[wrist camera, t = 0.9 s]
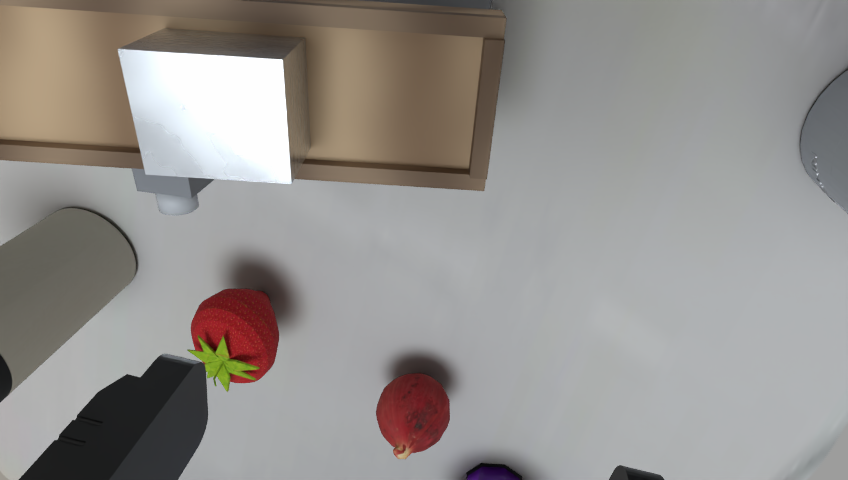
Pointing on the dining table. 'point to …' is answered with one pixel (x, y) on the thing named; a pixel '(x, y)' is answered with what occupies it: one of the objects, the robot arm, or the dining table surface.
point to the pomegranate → (413, 413)
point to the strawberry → (235, 335)
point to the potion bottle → (492, 472)
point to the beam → (326, 73)
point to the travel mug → (56, 286)
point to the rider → (219, 104)
